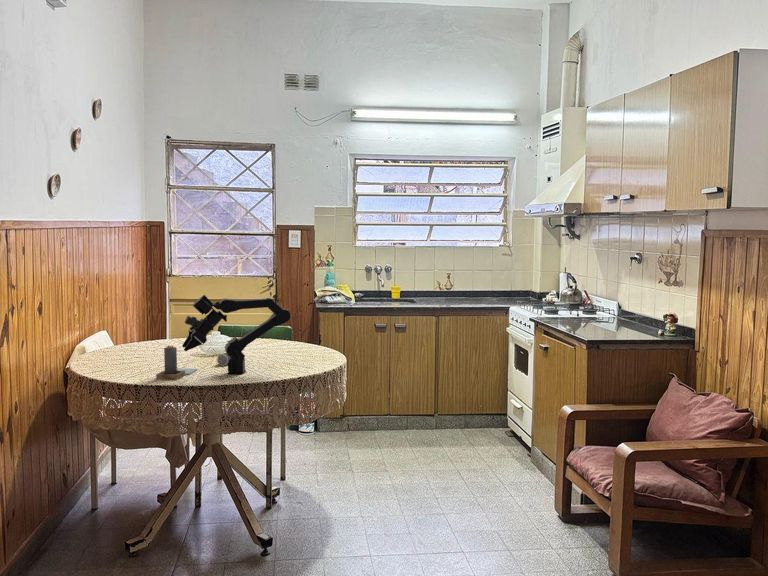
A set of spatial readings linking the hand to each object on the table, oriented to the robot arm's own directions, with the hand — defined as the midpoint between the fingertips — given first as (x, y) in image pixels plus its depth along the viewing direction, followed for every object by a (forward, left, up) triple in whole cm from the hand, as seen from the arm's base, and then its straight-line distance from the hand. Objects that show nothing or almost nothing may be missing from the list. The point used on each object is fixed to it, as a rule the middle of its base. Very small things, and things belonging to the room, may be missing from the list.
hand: (183, 348), depth 301 cm
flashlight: (-10, -32, -12) cm, 35 cm away
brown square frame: (+5, +2, -12) cm, 13 cm away
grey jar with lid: (+5, +2, -12) cm, 13 cm away
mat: (+4, -8, -12) cm, 15 cm away
